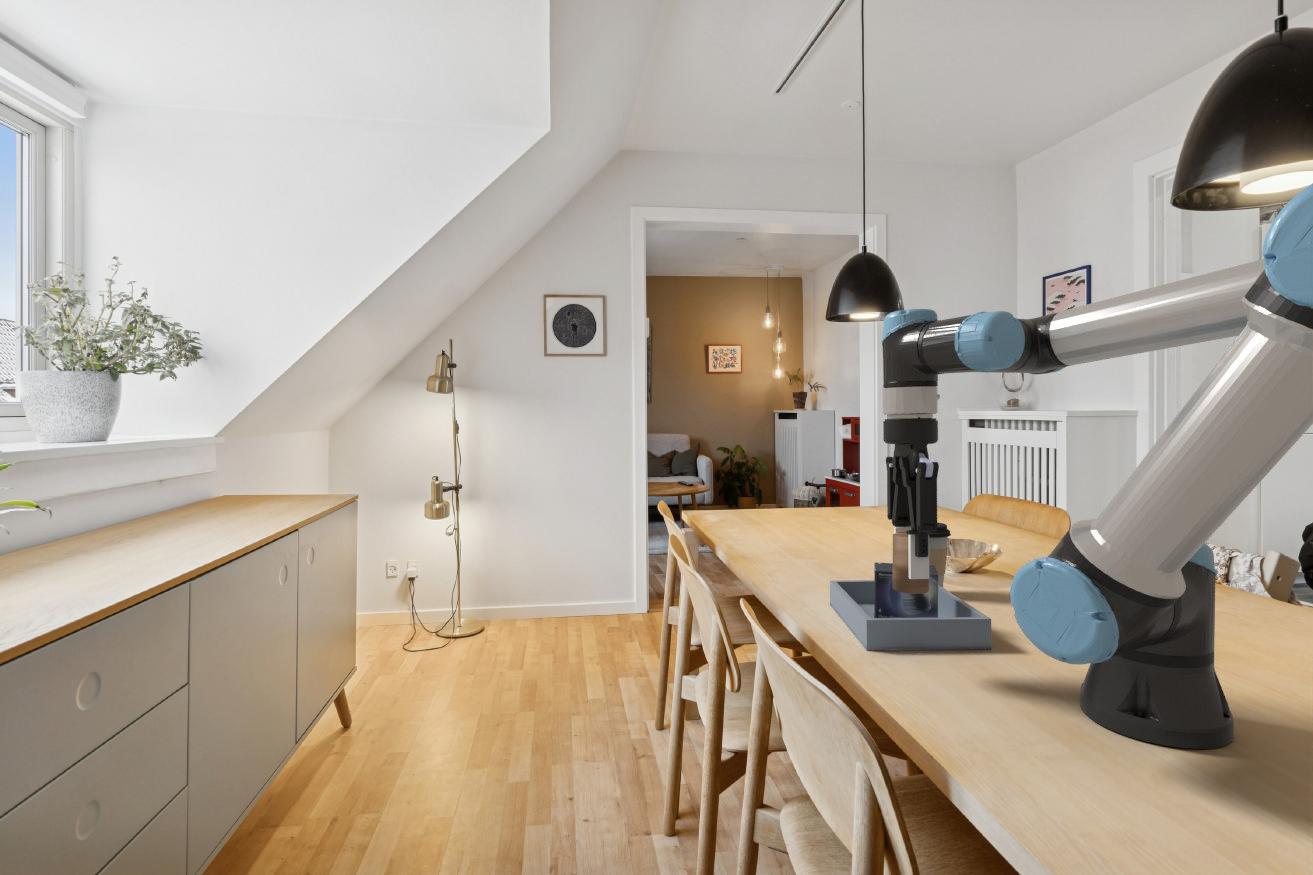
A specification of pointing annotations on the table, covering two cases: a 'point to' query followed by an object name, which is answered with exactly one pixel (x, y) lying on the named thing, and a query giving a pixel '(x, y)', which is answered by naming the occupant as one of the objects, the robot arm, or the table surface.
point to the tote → (910, 621)
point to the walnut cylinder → (905, 568)
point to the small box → (903, 596)
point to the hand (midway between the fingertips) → (911, 573)
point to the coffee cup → (939, 550)
